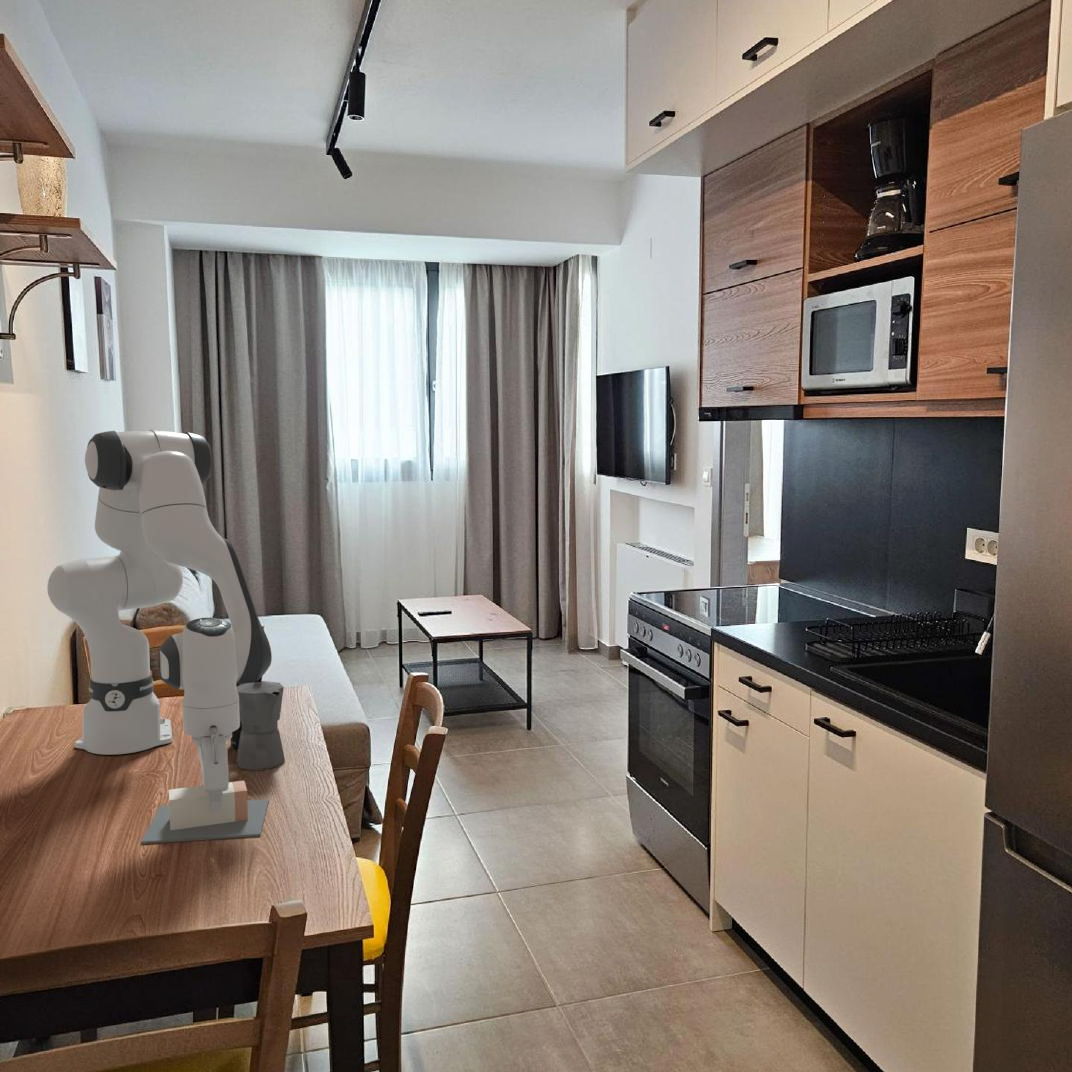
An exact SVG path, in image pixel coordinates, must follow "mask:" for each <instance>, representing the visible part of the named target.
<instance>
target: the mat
mask: <svg viewBox="0 0 1072 1072" xmlns="http://www.w3.org/2000/svg"><path fill="white" fill-rule="evenodd" d="M269 801H270V800H269V799H267V798H266V799H250V800H249V799H247V802H248V820H243V821H236V822H228V823H221V824H214V825H206V826H199V827H192V828H184V829H177V830H170V814H169V804H168V805H159V807H158V809H157V810H156V812H155V814H154V816H153V818H152V820H151V821H150V824H149V826H148V828H147V829H146V832H145V833H144V835H143V837H142V839H141V841H140V845H146V844H149V845H150V844H163V843H175V842H176V843H177V842H193V841H207V840H224V839H236V838H237V839H238V838H239V839H240V838H253V837H255V838H256V837H261V836H262V835H261V834H262V831H263V827H264V823H265V818H266V814H267V811H268V806H269V803H270V802H269Z"/></svg>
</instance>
